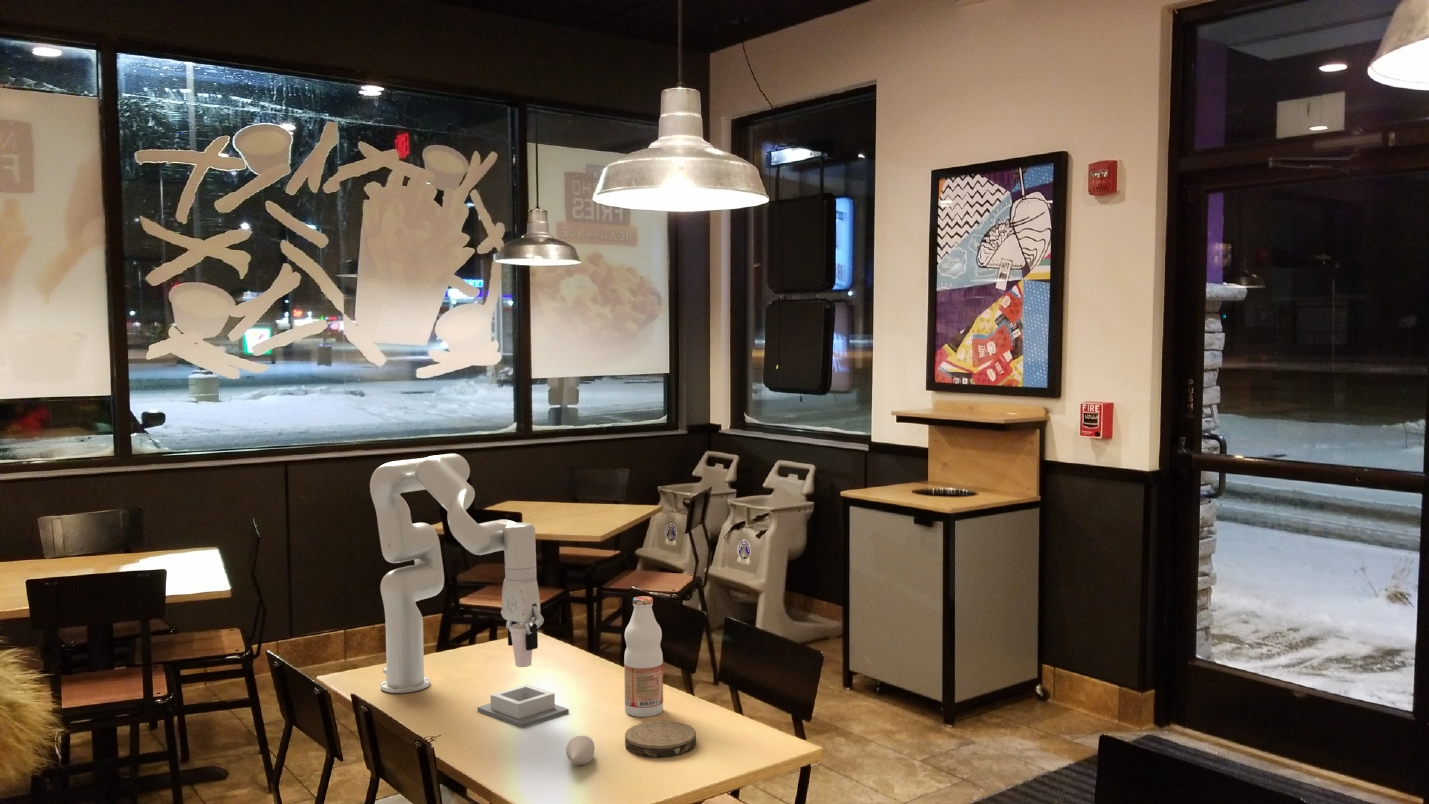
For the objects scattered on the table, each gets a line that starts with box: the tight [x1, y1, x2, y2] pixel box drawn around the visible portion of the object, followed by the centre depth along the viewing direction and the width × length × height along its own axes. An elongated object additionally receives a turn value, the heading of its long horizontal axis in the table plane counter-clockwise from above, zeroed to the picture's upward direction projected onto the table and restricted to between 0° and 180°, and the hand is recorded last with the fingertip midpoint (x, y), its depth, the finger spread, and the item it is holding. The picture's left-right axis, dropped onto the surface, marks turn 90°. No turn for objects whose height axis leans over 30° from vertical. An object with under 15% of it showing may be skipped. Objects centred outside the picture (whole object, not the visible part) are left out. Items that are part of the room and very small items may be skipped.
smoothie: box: [509, 623, 533, 668], centre depth 261 cm, size 6×6×14 cm
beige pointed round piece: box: [565, 735, 596, 766], centre depth 228 cm, size 6×6×15 cm
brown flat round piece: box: [624, 720, 697, 759], centre depth 240 cm, size 16×16×3 cm
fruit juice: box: [623, 595, 664, 718], centre depth 262 cm, size 9×9×28 cm
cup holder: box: [476, 684, 570, 729], centre depth 262 cm, size 18×14×4 cm
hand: (522, 646), depth 262 cm, fingers closed on smoothie, 6 cm apart
